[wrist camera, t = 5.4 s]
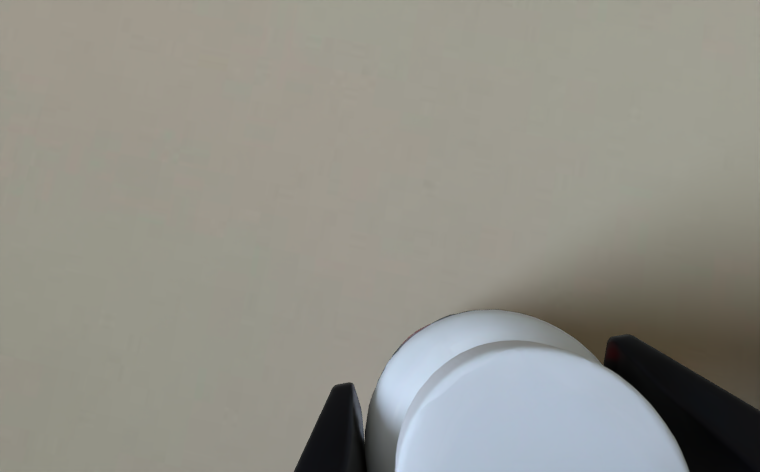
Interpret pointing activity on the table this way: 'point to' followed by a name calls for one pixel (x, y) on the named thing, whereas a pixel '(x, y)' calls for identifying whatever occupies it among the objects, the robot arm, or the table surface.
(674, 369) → the robot arm
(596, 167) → the table surface
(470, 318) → the pill bottle
